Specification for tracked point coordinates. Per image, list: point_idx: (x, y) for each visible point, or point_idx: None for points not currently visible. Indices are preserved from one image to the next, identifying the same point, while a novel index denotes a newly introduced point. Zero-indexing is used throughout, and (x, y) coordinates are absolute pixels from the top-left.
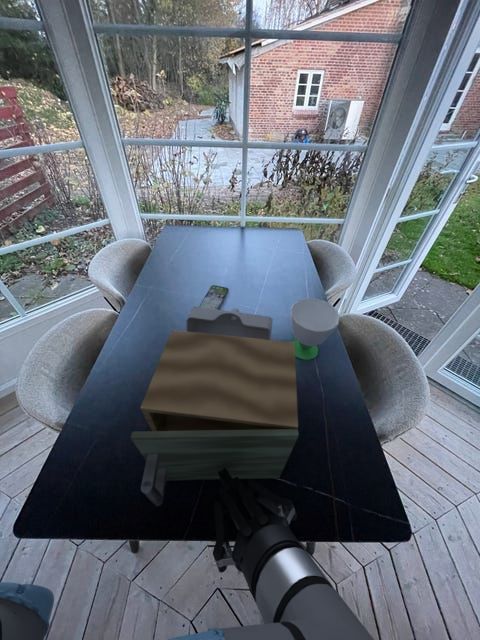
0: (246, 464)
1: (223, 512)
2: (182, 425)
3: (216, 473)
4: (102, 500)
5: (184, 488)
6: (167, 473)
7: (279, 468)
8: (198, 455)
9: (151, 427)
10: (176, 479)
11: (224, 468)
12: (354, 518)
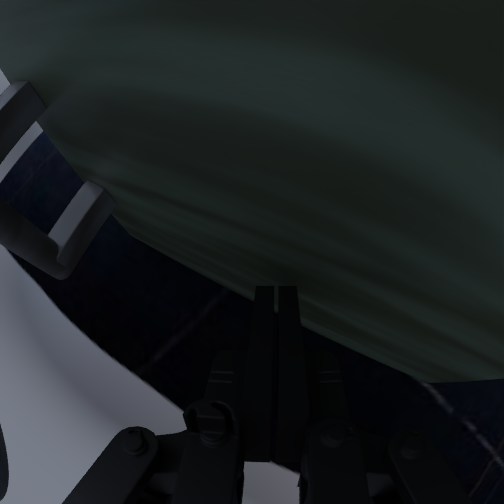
0: (395, 317)
1: (158, 489)
2: None
3: None
4: (43, 220)
5: (171, 281)
6: (125, 215)
7: (473, 375)
8: (155, 129)
9: None
10: (160, 250)
11: (291, 286)
12: (495, 494)
